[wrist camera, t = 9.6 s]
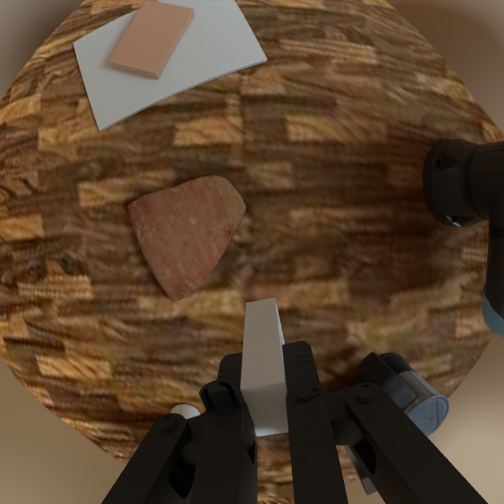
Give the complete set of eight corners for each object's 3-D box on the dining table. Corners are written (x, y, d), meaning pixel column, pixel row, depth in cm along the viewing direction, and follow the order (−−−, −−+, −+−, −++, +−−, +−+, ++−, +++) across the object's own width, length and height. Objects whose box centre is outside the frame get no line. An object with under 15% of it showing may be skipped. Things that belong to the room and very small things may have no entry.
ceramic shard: (270, 268, 39) (166, 308, 41) (267, 251, 46) (176, 287, 47) (221, 158, 35) (114, 211, 37) (225, 156, 41) (131, 201, 43)
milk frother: (414, 361, 50) (459, 401, 35) (366, 426, 51) (397, 475, 37) (359, 335, 48) (403, 380, 33) (308, 409, 49) (333, 467, 35)
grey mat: (222, -18, 36) (222, -20, 36) (266, 61, 40) (267, 59, 39) (74, 44, 36) (72, 42, 35) (101, 131, 39) (99, 130, 38)
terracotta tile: (155, 73, 36) (193, 9, 34) (107, 61, 35) (146, -1, 33) (159, 79, 38) (195, 17, 37) (113, 68, 37) (149, 7, 36)
